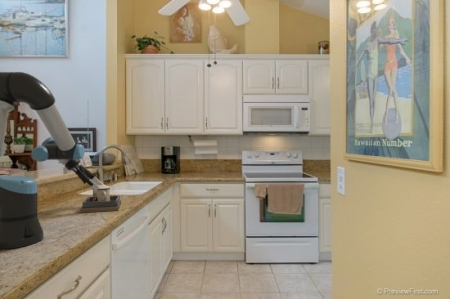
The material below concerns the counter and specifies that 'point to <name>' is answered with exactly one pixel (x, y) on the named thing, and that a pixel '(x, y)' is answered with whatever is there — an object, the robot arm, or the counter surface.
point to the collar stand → (101, 205)
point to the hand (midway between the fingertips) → (99, 187)
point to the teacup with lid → (101, 193)
